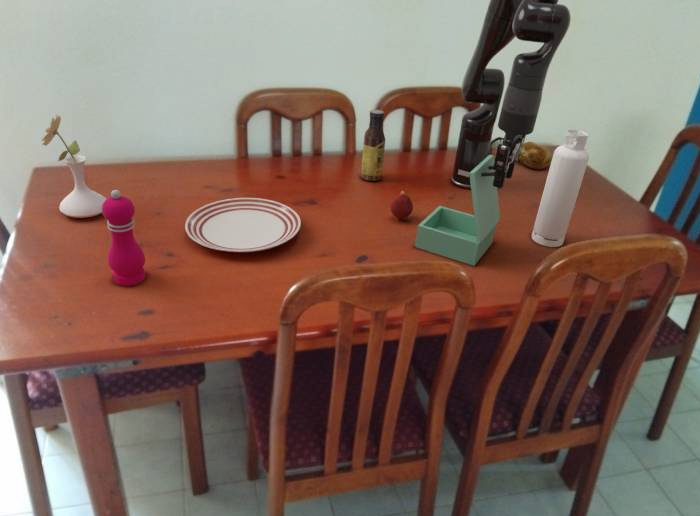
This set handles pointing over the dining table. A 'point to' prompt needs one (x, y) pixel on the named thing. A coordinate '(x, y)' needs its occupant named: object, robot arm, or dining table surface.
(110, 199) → the pepper mill
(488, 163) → the box lid
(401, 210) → the onion
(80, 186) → the flower in vase
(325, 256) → the dining table surface
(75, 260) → the dining table surface
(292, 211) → the dinner plate
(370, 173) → the sauce bottle
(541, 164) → the bread roll
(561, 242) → the bottle
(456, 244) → the teal open box
